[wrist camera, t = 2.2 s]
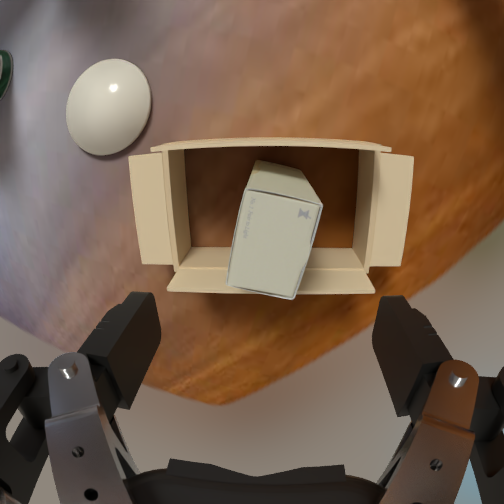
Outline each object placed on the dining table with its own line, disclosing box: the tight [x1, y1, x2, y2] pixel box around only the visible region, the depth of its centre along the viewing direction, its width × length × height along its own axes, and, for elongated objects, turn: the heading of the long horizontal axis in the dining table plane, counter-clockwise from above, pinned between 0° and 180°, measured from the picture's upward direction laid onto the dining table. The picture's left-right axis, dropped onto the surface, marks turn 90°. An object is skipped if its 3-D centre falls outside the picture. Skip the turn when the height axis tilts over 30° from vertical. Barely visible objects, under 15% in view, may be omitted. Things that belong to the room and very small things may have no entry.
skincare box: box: [226, 160, 323, 300], centre depth 22 cm, size 6×4×12 cm
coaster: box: [66, 59, 152, 155], centre depth 25 cm, size 10×10×1 cm
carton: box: [129, 137, 414, 294], centre depth 24 cm, size 23×11×8 cm, turn 91°
